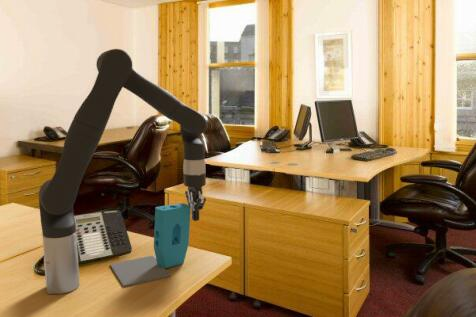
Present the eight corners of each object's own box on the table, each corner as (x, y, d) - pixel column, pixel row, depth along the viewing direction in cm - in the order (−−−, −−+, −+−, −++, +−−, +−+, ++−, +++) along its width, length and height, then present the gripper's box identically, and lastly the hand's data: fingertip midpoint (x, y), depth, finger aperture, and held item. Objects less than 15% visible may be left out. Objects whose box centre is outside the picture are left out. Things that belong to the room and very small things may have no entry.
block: (160, 269, 139) (162, 210, 137) (151, 264, 143) (154, 207, 140) (188, 261, 148) (191, 206, 145) (180, 257, 151) (183, 203, 149)
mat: (123, 287, 129) (123, 285, 128) (110, 265, 144) (110, 263, 144) (170, 276, 136) (170, 274, 136) (152, 257, 151) (152, 255, 151)
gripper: (177, 169, 148) (178, 216, 151) (192, 176, 137) (193, 227, 140) (196, 167, 152) (197, 213, 155) (212, 174, 141) (213, 223, 144)
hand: (195, 220), depth 148 cm, fingers closed
